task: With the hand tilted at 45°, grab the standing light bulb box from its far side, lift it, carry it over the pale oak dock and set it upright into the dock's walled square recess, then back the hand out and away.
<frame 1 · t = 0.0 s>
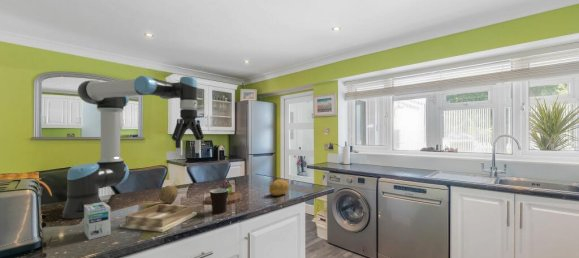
hand: (189, 154, 122), 28 cm above the worktop, tool pointing down, fingers open, 13 cm apart
oak dock: (160, 220, 111), on the worktop
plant: (224, 200, 145), on the worktop
coffee mug: (220, 210, 124), on the worktop
natural sponge: (168, 204, 137), on the worktop
light bulb box: (97, 234, 97), on the worktop
potato: (278, 195, 154), on the worktop
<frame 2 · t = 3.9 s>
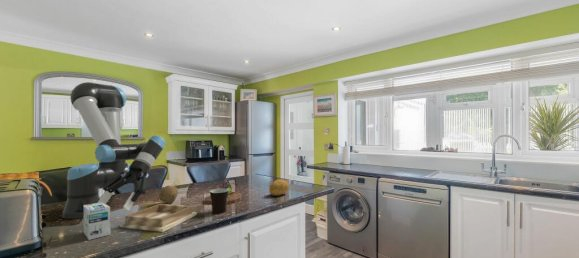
hand: (111, 208, 100), 9 cm above the worktop, tool tilted 45°, fingers open, 13 cm apart
light bulb box: (96, 234, 97), on the worktop, touching gripper
everything else where it was.
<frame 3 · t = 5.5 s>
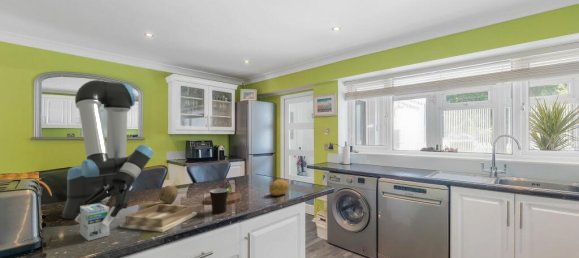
hand: (90, 223, 95), 5 cm above the worktop, tool tilted 45°, fingers open, 12 cm apart
light bulb box: (94, 235, 96), on the worktop
everything else where it was.
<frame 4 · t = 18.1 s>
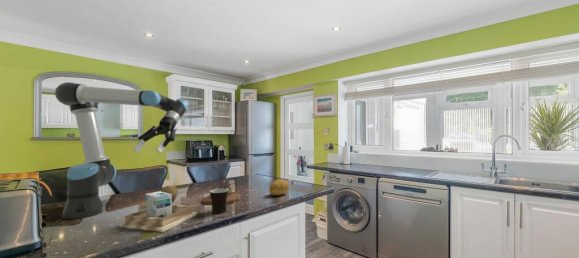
hand: (147, 151, 121), 30 cm above the worktop, tool tilted 45°, fingers open, 13 cm apart
light bulb box: (158, 219, 109), point 1 cm above the worktop, touching oak dock
at the end: light bulb box inside the target area on the oak dock (1.2 cm from its centre), point 1.0 cm above the oak dock's base; light bulb box tilted 0°; the gripper is holding nothing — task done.
